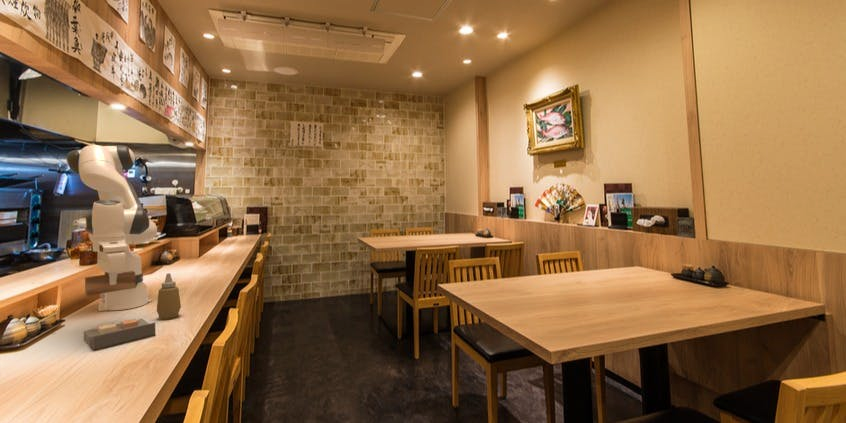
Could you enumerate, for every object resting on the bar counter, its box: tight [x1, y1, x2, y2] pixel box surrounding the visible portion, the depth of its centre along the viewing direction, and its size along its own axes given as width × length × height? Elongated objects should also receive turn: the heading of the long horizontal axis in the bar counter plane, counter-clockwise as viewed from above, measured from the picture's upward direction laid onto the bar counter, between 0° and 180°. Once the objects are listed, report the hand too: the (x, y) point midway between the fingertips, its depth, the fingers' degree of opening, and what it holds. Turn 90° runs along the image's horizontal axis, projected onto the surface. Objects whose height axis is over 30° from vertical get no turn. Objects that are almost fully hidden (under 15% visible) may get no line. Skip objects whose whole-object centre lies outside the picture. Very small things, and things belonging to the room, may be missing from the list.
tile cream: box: [97, 323, 117, 334], centre depth 119 cm, size 4×4×2 cm
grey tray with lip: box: [83, 318, 156, 352], centre depth 120 cm, size 14×16×4 cm
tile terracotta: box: [120, 318, 138, 328], centre depth 124 cm, size 4×4×2 cm
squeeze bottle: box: [156, 273, 182, 320], centre depth 142 cm, size 8×8×18 cm
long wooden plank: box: [84, 271, 136, 297], centre depth 124 cm, size 3×13×6 cm, turn 142°
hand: (111, 283), depth 124 cm, fingers closed on long wooden plank, 3 cm apart
